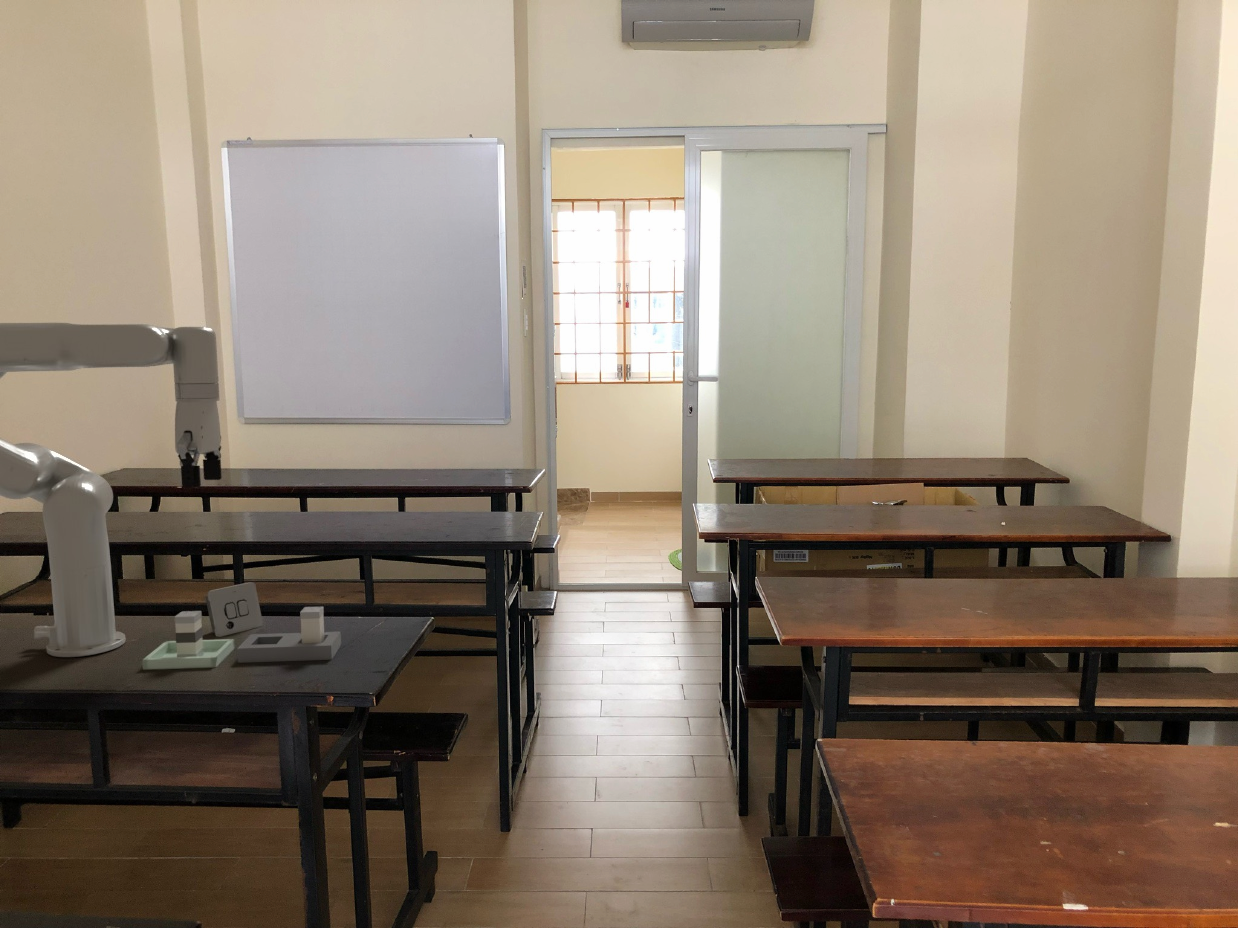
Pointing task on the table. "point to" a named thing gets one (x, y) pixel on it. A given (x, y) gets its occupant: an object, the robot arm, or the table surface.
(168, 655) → the parts tray
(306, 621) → the block
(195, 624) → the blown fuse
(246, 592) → the electrical switch
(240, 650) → the block
